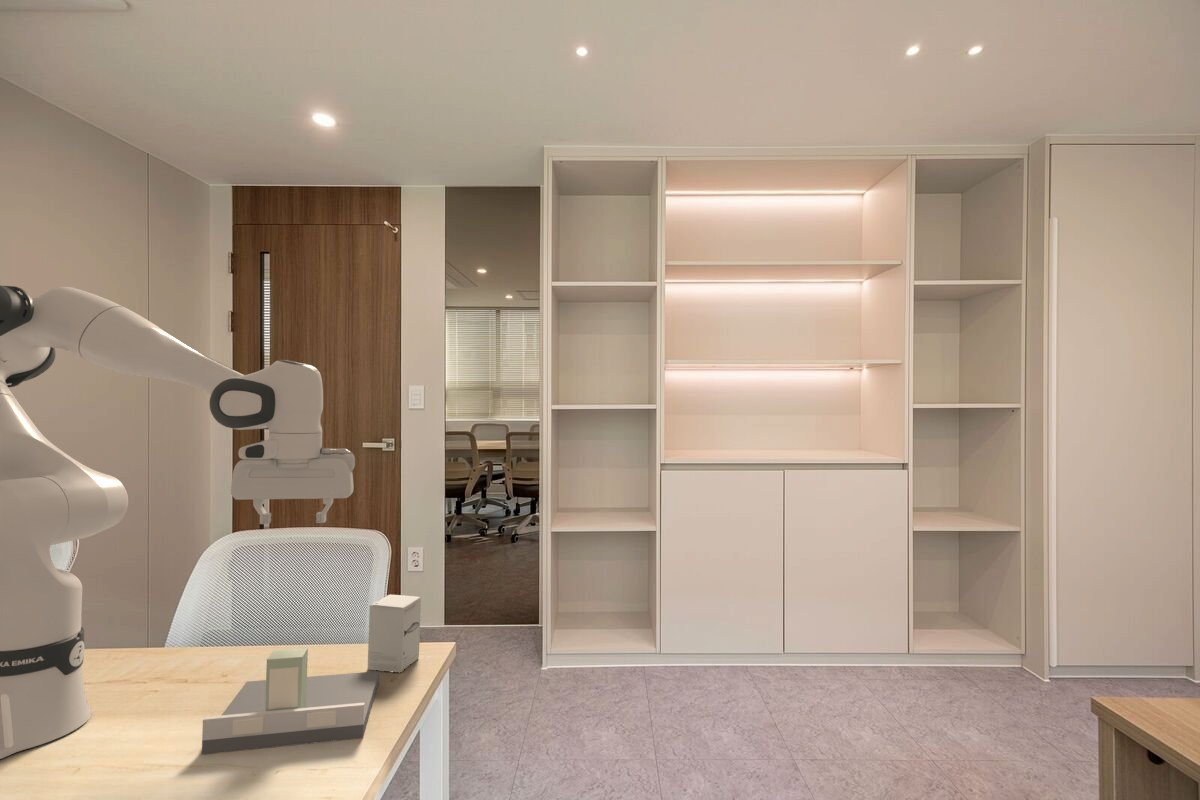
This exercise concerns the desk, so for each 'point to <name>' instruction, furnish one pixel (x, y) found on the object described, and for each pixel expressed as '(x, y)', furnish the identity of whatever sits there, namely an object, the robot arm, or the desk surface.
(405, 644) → the supplement box
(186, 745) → the desk surface
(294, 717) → the shelf board
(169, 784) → the desk surface
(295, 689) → the sage carton
